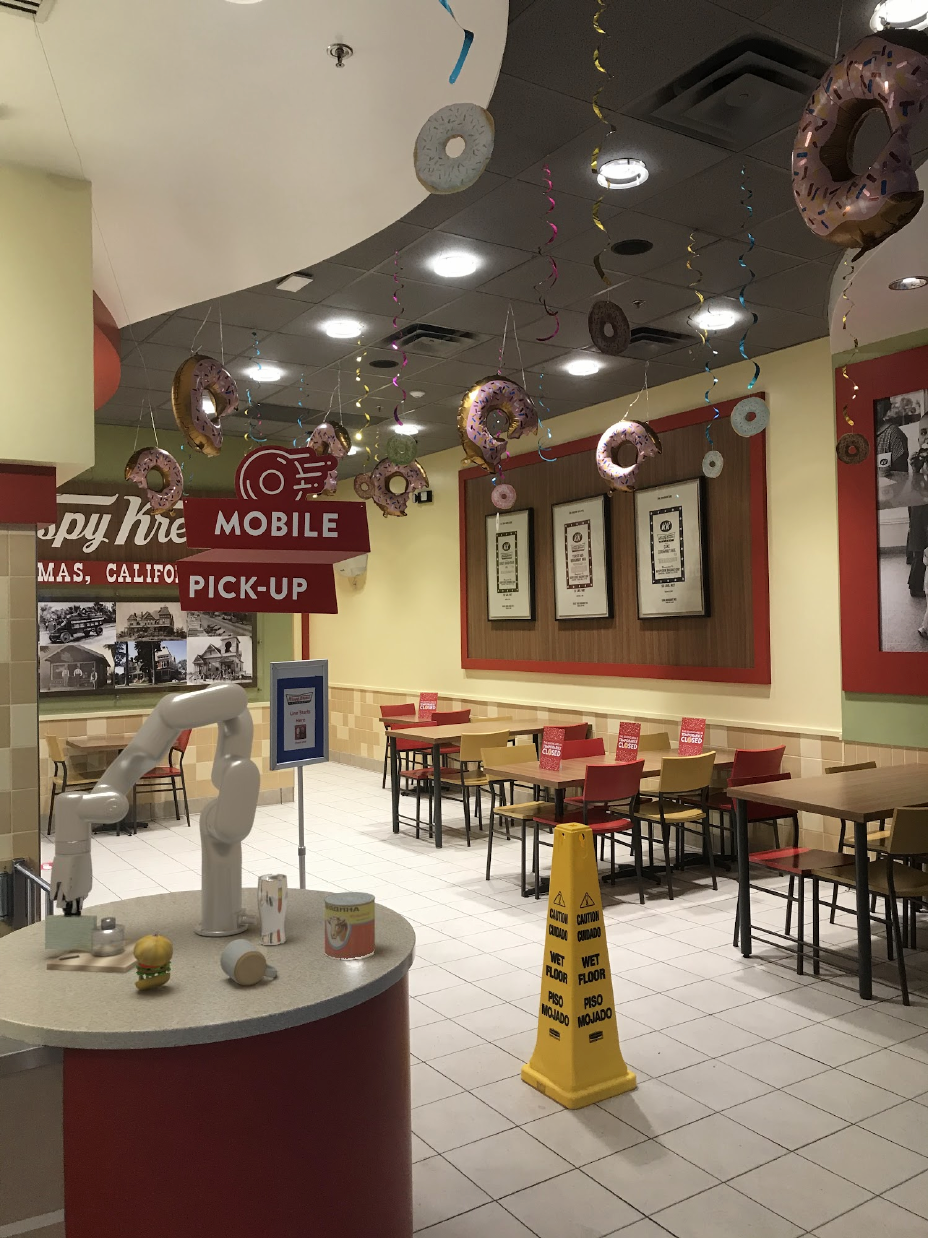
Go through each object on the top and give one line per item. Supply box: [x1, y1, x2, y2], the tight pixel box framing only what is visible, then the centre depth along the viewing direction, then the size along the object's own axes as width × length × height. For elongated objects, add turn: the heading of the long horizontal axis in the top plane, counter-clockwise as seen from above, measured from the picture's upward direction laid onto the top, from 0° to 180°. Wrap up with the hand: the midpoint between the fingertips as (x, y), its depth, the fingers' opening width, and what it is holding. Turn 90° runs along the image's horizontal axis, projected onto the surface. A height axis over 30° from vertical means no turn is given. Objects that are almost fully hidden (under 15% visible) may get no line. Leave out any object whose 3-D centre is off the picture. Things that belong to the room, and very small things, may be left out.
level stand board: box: [46, 939, 139, 974], centre depth 209 cm, size 18×18×2 cm
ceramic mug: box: [219, 938, 278, 987], centre depth 194 cm, size 11×8×8 cm
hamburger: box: [133, 931, 174, 991], centre depth 189 cm, size 8×7×12 cm
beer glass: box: [256, 873, 289, 946], centre depth 220 cm, size 7×7×15 cm
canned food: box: [324, 891, 376, 959], centre depth 212 cm, size 11×11×12 cm
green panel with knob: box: [44, 914, 126, 956], centre depth 210 cm, size 18×7×8 cm, turn 86°
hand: (72, 929), depth 214 cm, fingers closed
